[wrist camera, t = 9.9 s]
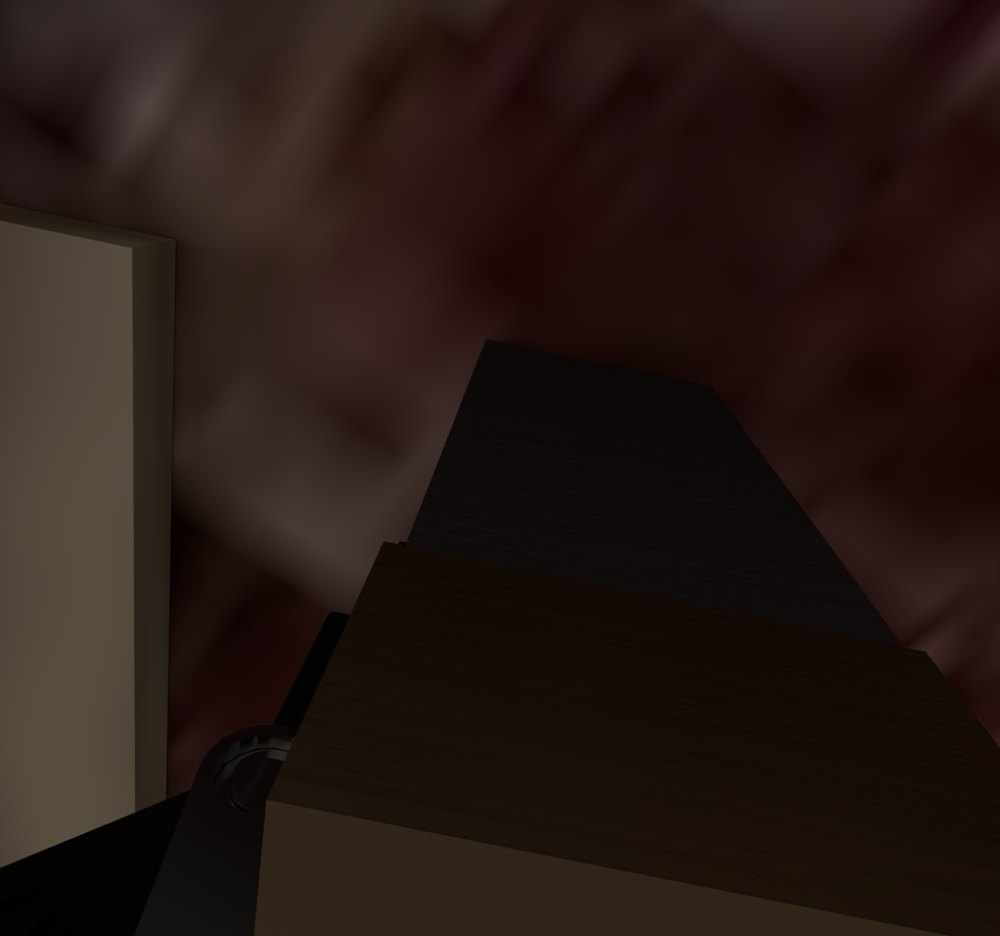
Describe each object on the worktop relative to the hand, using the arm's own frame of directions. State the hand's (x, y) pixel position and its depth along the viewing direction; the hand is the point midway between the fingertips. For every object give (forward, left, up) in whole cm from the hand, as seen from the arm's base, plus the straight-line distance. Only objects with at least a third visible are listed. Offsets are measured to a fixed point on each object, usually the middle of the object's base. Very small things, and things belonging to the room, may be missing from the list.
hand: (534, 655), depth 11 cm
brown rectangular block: (0, 0, -1) cm, 1 cm away
